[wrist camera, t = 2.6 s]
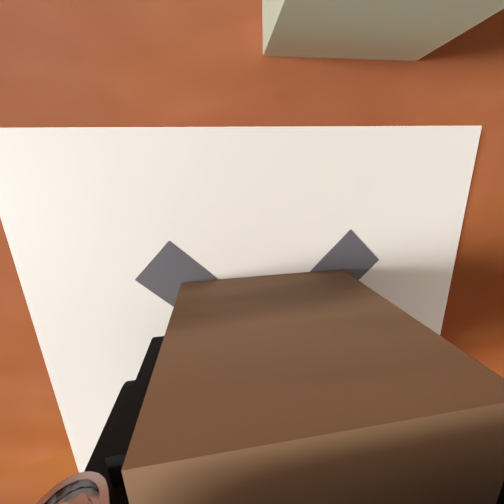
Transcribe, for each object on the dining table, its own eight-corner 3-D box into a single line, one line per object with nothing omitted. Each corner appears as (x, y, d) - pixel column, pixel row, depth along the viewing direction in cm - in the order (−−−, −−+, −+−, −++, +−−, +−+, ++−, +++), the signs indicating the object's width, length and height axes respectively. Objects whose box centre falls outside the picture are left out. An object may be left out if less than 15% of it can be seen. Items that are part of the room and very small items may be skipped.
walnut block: (181, 282, 9) (120, 471, 3) (341, 269, 10) (532, 397, 4) (197, 416, 10) (176, 701, 5) (332, 394, 11) (457, 615, 5)
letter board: (-3, 133, 8) (-29, 127, 7) (460, 130, 10) (483, 125, 9) (101, 498, 12) (93, 521, 11) (405, 441, 14) (416, 456, 13)
